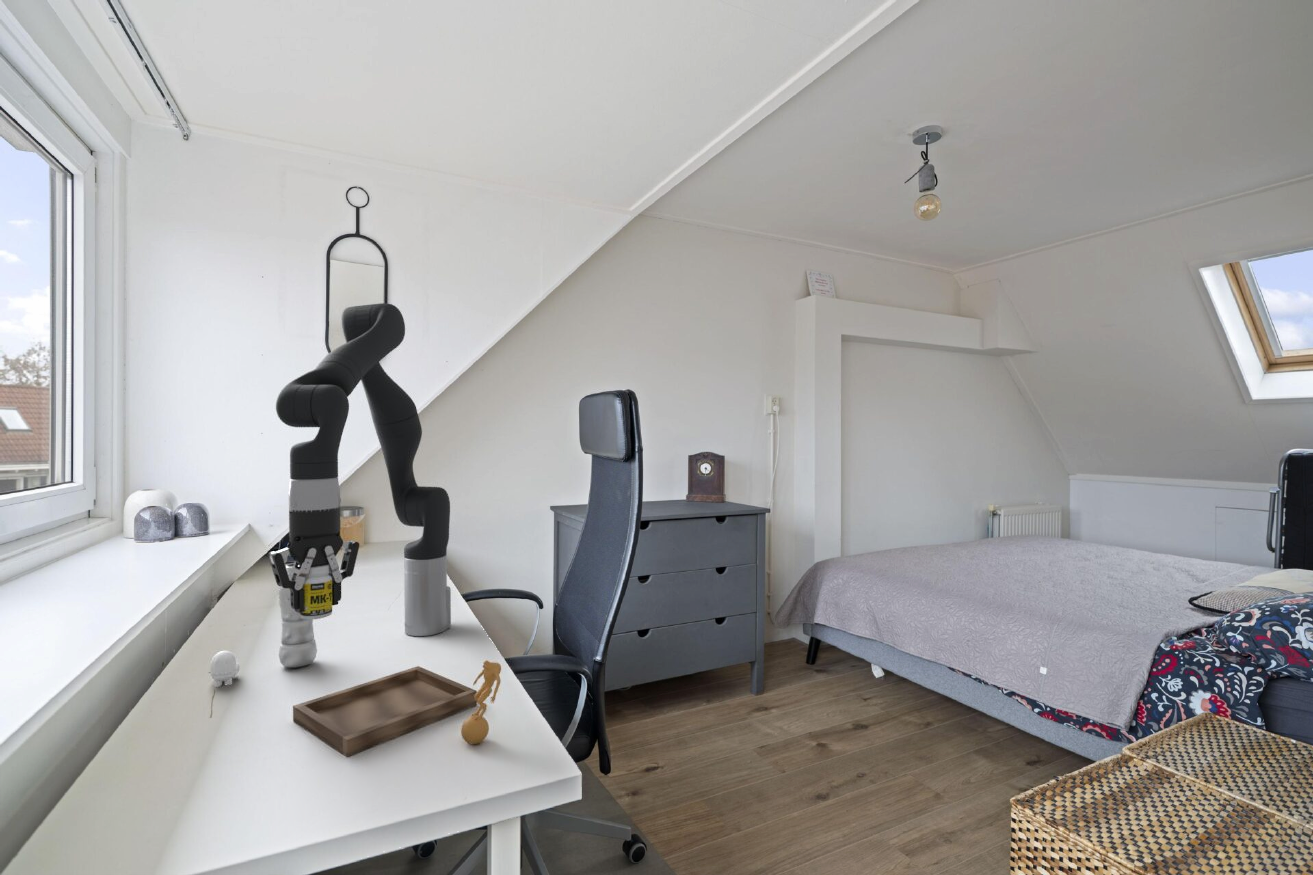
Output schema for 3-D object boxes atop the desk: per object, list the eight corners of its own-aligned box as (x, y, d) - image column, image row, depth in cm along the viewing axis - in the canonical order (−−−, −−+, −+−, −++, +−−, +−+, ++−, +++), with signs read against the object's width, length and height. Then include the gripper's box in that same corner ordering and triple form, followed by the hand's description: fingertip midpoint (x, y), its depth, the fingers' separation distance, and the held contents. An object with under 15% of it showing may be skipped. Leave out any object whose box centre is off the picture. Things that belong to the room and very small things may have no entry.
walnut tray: (418, 679, 121) (418, 665, 121) (476, 705, 110) (476, 690, 110) (293, 721, 104) (292, 705, 104) (347, 757, 93) (346, 739, 93)
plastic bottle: (301, 672, 125) (299, 568, 124) (270, 670, 126) (269, 567, 126) (324, 660, 131) (323, 561, 131) (295, 658, 132) (294, 560, 132)
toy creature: (205, 692, 116) (205, 657, 116) (214, 676, 123) (214, 643, 123) (235, 687, 118) (235, 653, 118) (243, 672, 125) (242, 640, 125)
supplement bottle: (309, 621, 105) (309, 569, 105) (294, 617, 107) (293, 566, 107) (338, 614, 109) (337, 564, 109) (322, 610, 111) (322, 561, 111)
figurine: (453, 735, 100) (453, 657, 99) (491, 725, 103) (491, 649, 103) (470, 758, 93) (470, 674, 92) (511, 746, 96) (510, 665, 96)
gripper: (348, 499, 116) (349, 595, 116) (258, 508, 105) (260, 613, 105) (368, 503, 111) (369, 602, 111) (276, 512, 100) (278, 622, 100)
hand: (316, 607), depth 108 cm, fingers closed on supplement bottle, 4 cm apart
